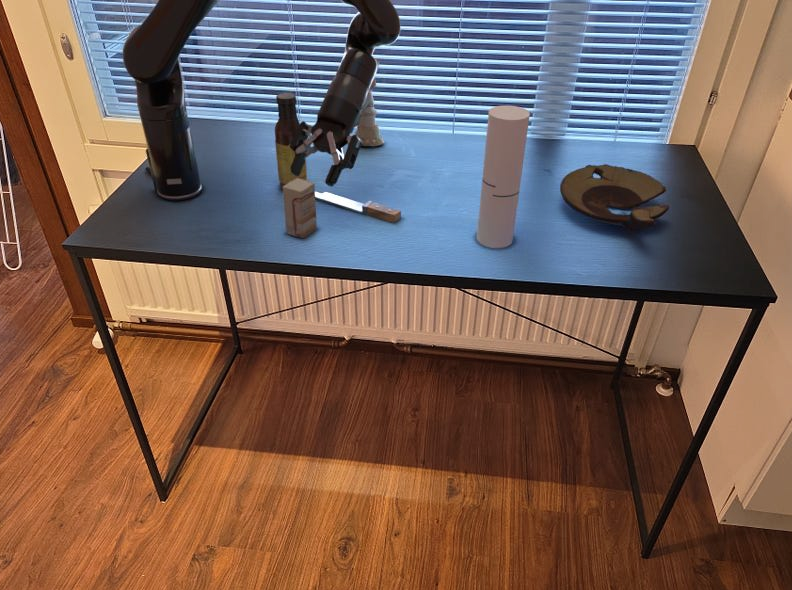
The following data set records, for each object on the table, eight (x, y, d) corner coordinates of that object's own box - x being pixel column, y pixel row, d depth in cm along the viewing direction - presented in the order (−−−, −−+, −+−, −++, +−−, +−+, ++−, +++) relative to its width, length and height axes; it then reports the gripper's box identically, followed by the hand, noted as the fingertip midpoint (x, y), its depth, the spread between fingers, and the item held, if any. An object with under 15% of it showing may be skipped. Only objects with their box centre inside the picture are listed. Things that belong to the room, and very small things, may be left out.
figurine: (383, 135, 172) (382, 54, 159) (384, 148, 166) (384, 64, 153) (349, 136, 172) (345, 54, 159) (349, 149, 165) (345, 64, 152)
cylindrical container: (489, 226, 136) (503, 102, 120) (519, 238, 132) (537, 111, 116) (469, 239, 132) (480, 113, 116) (499, 252, 128) (515, 123, 112)
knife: (309, 197, 145) (308, 188, 144) (318, 191, 147) (318, 183, 146) (393, 224, 136) (393, 215, 135) (401, 218, 138) (402, 209, 137)
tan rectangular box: (303, 239, 131) (299, 192, 124) (285, 234, 132) (280, 186, 126) (318, 228, 134) (315, 181, 128) (301, 223, 136) (296, 176, 129)
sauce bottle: (302, 194, 146) (294, 102, 133) (275, 191, 147) (265, 100, 134) (311, 181, 151) (304, 92, 138) (285, 179, 152) (276, 89, 139)
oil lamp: (662, 193, 149) (671, 160, 144) (666, 260, 126) (678, 224, 122) (561, 180, 153) (567, 148, 148) (548, 243, 131) (555, 208, 126)
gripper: (305, 86, 130) (273, 162, 130) (365, 100, 124) (331, 180, 124) (323, 106, 137) (293, 178, 137) (380, 120, 131) (349, 196, 131)
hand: (311, 179), depth 130 cm, fingers open, 8 cm apart
